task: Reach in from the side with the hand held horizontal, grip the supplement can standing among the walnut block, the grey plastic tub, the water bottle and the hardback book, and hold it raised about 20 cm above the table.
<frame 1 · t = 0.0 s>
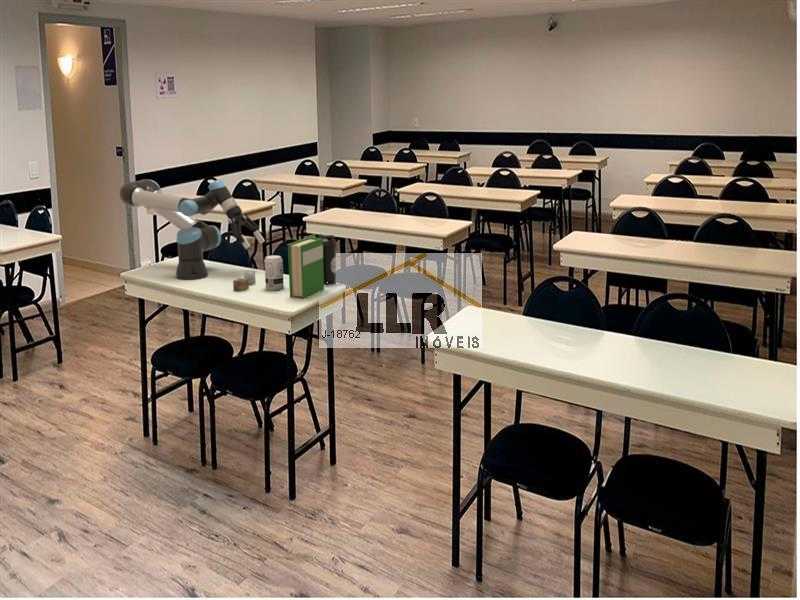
hand: (255, 245, 365), 15 cm above the table, tool tilted 35°, fingers open, 13 cm apart
hardback book: (307, 293, 337), on the table
walnut block: (241, 290, 342), on the table
water bottle: (326, 283, 355), on the table
grey plastic tub: (250, 284, 352), on the table
supplement can: (274, 288, 345), on the table
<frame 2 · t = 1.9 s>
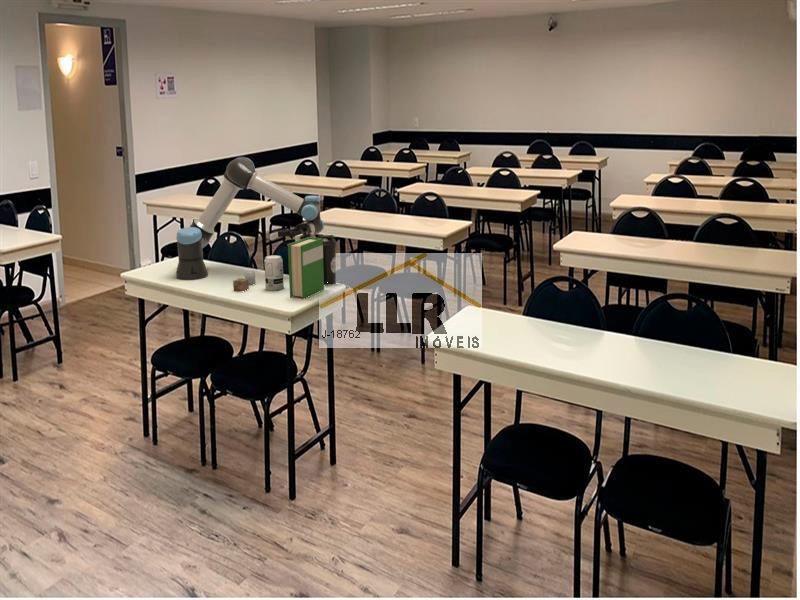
hand: (283, 238, 347), 22 cm above the table, tool horizontal, fingers open, 13 cm apart
nothing on the table moved.
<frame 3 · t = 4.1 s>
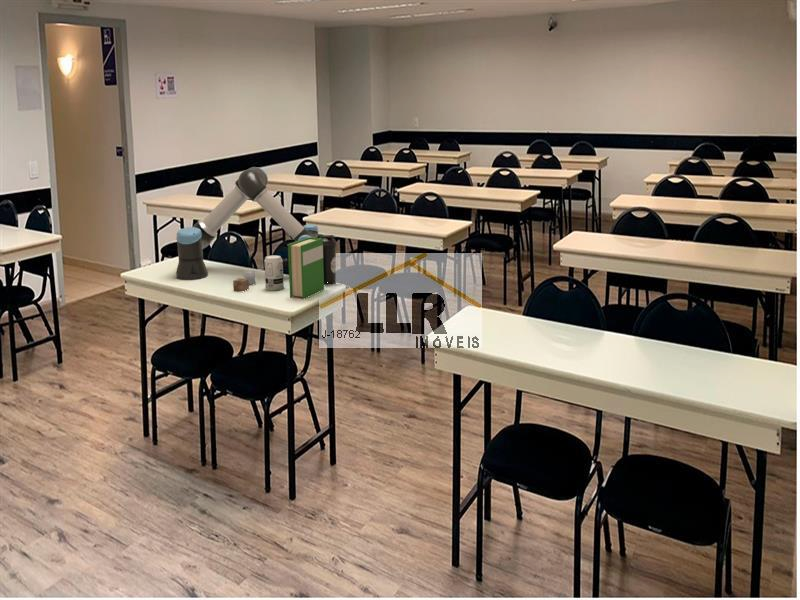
hand: (281, 269, 348), 8 cm above the table, tool horizontal, fingers open, 13 cm apart
nothing on the table moved.
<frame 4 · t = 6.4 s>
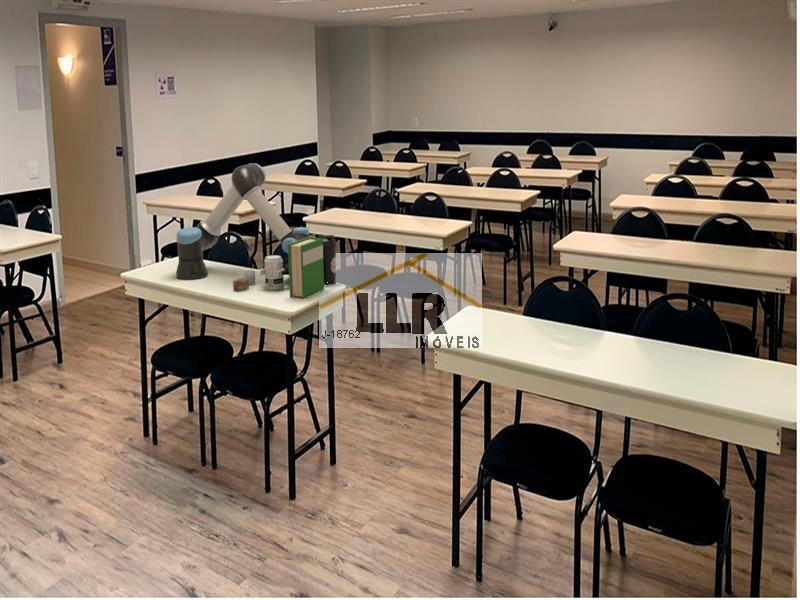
hand: (268, 273, 338), 8 cm above the table, tool horizontal, fingers closed on supplement can, 8 cm apart
supplement can: (274, 288, 345), on the table, touching gripper
everything else where it was.
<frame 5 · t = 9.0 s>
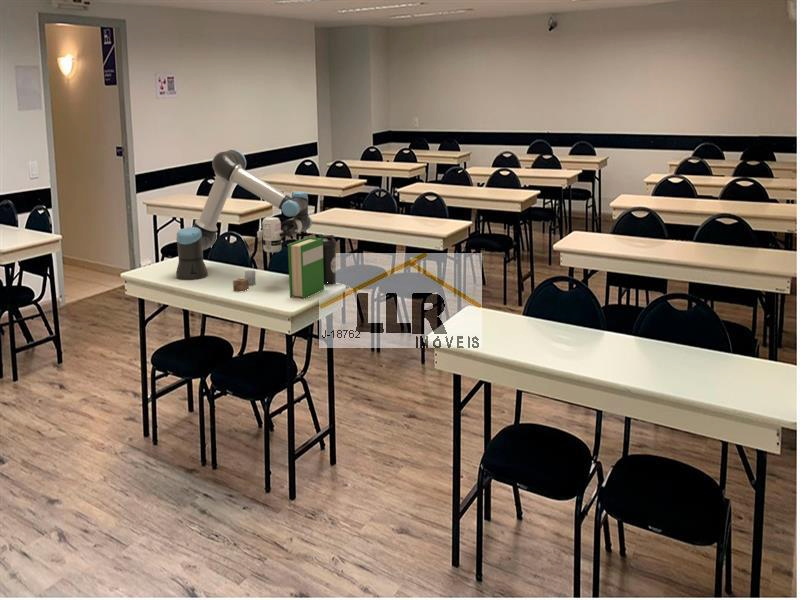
hand: (266, 235, 336), 25 cm above the table, tool horizontal, fingers closed on supplement can, 8 cm apart
supplement can: (272, 251, 342), point 17 cm above the table, touching gripper
everything else where it was.
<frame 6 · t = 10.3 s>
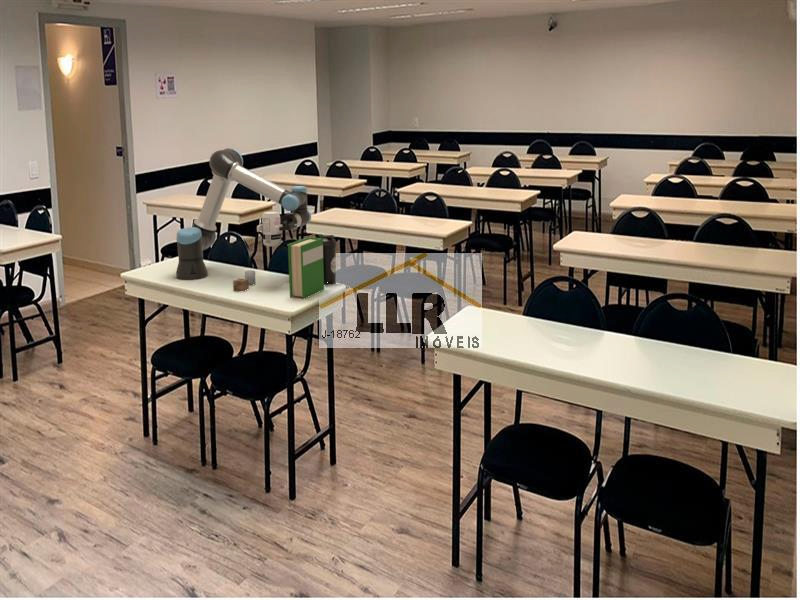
hand: (266, 229, 336), 28 cm above the table, tool horizontal, fingers closed on supplement can, 8 cm apart
supplement can: (272, 245, 343), point 20 cm above the table, touching gripper
everything else where it was.
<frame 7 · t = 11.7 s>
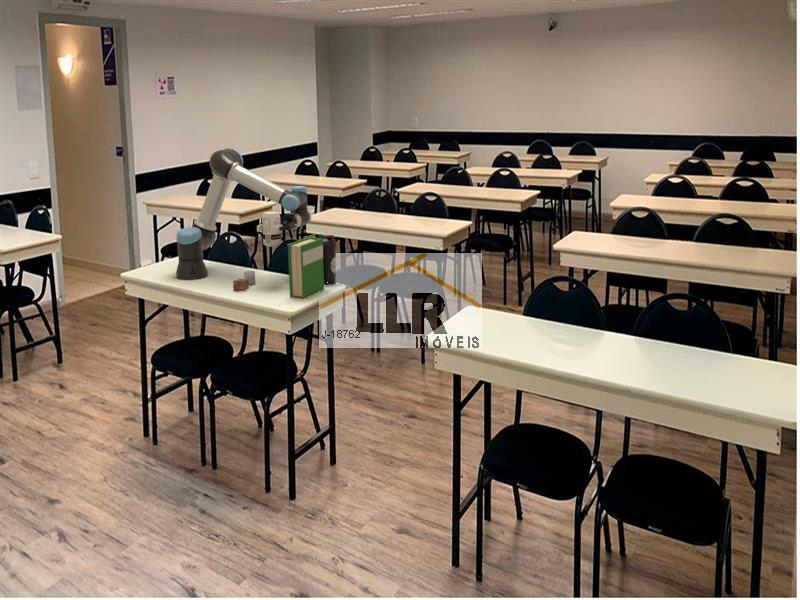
hand: (266, 229, 336), 28 cm above the table, tool horizontal, fingers closed on supplement can, 8 cm apart
supplement can: (272, 245, 343), point 20 cm above the table, touching gripper
everything else where it was.
at the end: the gripper is holding supplement can; supplement can point 19.7 cm above the table; walnut block moved 0.1 cm from its start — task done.
